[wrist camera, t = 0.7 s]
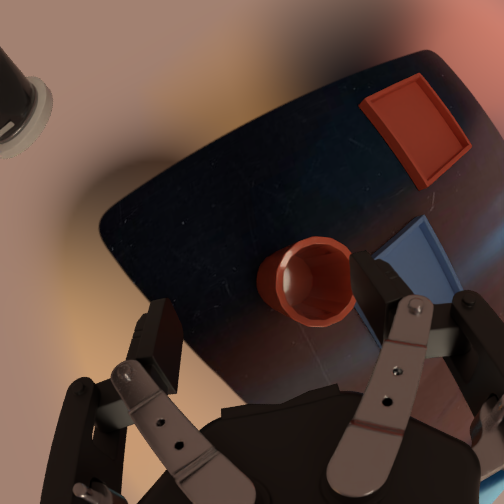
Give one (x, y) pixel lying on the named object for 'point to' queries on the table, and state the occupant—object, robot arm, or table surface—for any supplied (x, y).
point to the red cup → (308, 281)
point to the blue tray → (419, 264)
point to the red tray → (417, 128)
